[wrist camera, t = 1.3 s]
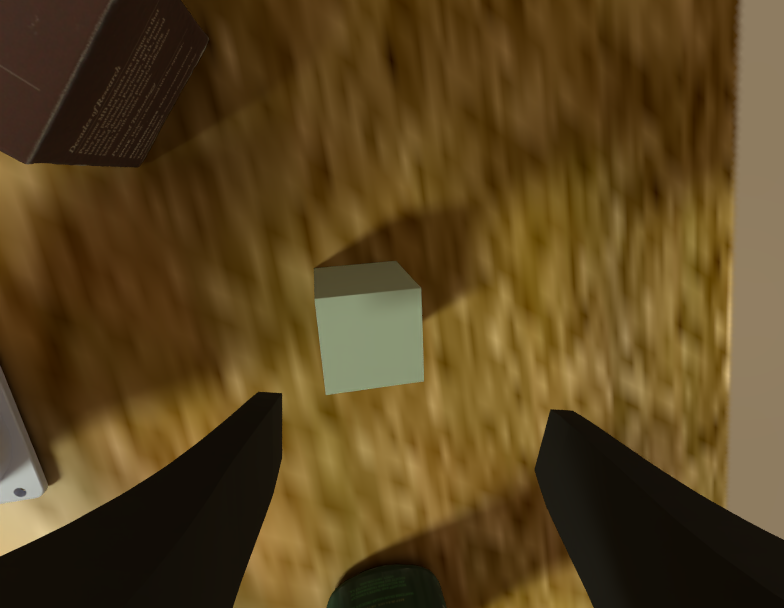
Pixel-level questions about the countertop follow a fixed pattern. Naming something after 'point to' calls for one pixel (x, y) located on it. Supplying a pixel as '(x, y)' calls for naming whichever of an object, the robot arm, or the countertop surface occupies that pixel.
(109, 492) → the countertop surface
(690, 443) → the countertop surface
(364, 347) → the sage block
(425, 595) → the coffee jar
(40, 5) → the box
